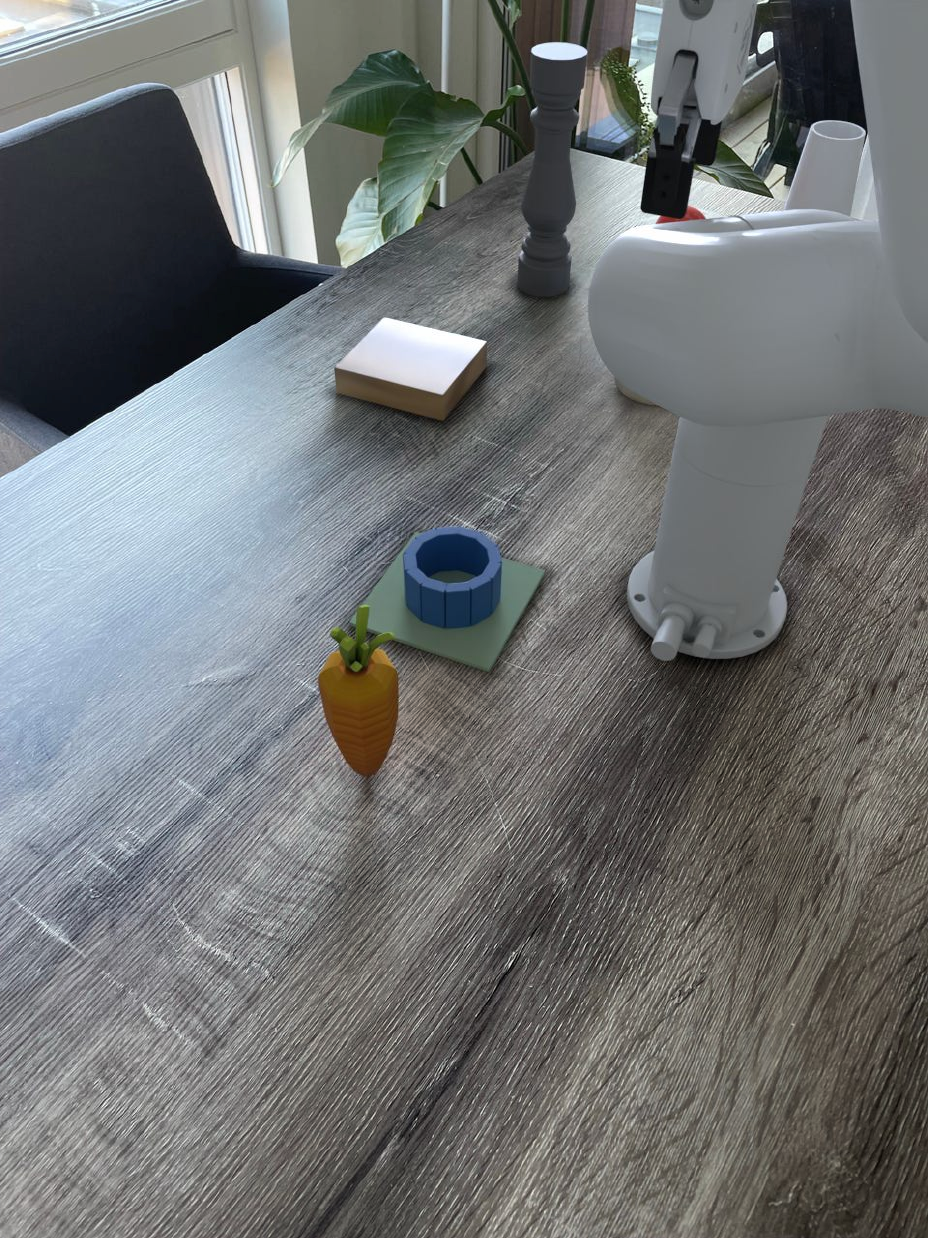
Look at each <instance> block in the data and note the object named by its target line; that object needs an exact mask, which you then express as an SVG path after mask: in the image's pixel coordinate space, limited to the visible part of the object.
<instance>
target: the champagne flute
mask: <svg viewBox="0 0 928 1238" xmlns="http://www.w3.org/2000/svg"><path fill="white" fill-rule="evenodd" d="M866 135H867V133H866V130H865V128H863V127H862V126H860V125H858V124H855V123H854V122H853V123H852V122H848V121H844V120H843V121H842V120H834V119H833V120H831V119H829V120H827V119H826V120H820V121H816V122H814V123H812V124H811V126H810V129H809V132H808V135H807V138H806V141H805V143H804V146H803V150H802V151H801V155H800V158H799V161H798V165H797V167H796V171H795V174H794V176H793V180H792V182H791V185H790V189H789V191H788V195H787V197H786V200H785V203H784V206H783V210H793V209H817V210H826V211H833V212H837V213H841V214H844V215H846V216H849V217H851V215H852V209H853V203H854V197H855V192H856V187H857V183H858V177H859V172H860V166H861V161H862V156H863V151H864V145H865V139H866Z"/></svg>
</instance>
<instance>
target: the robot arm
mask: <svg viewBox="0 0 928 1238" xmlns="http://www.w3.org/2000/svg"><path fill="white" fill-rule="evenodd" d="M758 2H759V0H663V5H662V10H661V11H662V12H661V19H660V24H659V30H658V31H659V32H658V37H657V45H656V53H655V58H654V59H655V60H654V67H653V75H652V84H651V92H650V94H651V95H650V109H651V111H652V112H653V113H654V115H655V116H656V121H655V124H654V128H653V132H652V136H651V140H650V143H649V149H648V152H647V156H646V162H645V170H644V177H643V185H642V190H641V191H642V192H641V199H640V200H641V201H640V207H639V208H640V211H641V212H642V213H643V214H649V215H654V216H659V217H660V216H665V217H670V218H676V219H682V218H683V217H684V216H685V214H686V212H687V207H688V206H689V200H690V196H691V191H692V190H691V189H692V183H693V178H694V174H695V173H694V172H695V167H696V165H699V166H705V167H711V166H712V165H713V164H714V163H715V161H716V156H717V152H718V147H719V141H720V135H721V132H722V131H721V130H722V126H723V120H724V119H725V118H726V116H727V115H728V114H729V111H730V110H731V108H732V107H733V104H734V103H735V101H736V99H737V97H738V96H739V94H740V92H741V89H742V88H743V86H744V83H745V79H746V74H747V69H748V63H749V56H750V49H751V45H752V44H751V43H752V37H753V32H754V26H755V19H756V14H757V8H758ZM850 8H851V16H852V17H851V18H852V24H853V25H852V26H853V32H854V41H855V49H856V55H857V63H858V70H859V77H860V78H859V79H860V85H861V93H862V99H863V106H864V115H865V119H866V120H865V121H866V128H867V130H866V131H867V137H868V144H869V152H870V154H869V155H870V161H871V162H870V163H871V168H872V177H873V178H872V179H873V185H874V193H875V194H874V195H875V201H876V209H877V210H876V211H877V219H875V220H874V219H871V220H869V219H868V220H867V219H864V220H856V219H855V218H853V217H851V216H850V217H849V216H846V215H844V214H841V213H837V212H833V211H826V210H817V209H793V210H774V211H764V212H763V211H762V212H754V213H745V214H743V213H742V214H734V215H733V214H732V215H728V216H721V217H711V218H706V219H700V220H690V221H680V222H670V223H662V224H656V223H654V224H645V225H640V226H636V227H632V228H630V229H628V230H626V231H624V232H622V233H621V234H619V235H618V236H617V237H615V238H614V239H613V240H612V241H611V242H610V243H609V244H608V246H607V247H606V248H605V250H604V251H603V252H602V254H601V256H600V257H599V259H598V261H597V264H596V266H595V268H594V271H593V274H592V276H591V280H590V285H589V289H588V299H587V315H588V316H587V317H588V324H589V330H590V334H591V337H592V341H593V344H594V345H595V349H596V351H597V353H598V355H599V357H600V359H601V361H602V362H603V364H604V365H605V367H606V369H607V370H608V371H609V372H610V373H611V375H612V376H613V378H614V377H615V378H616V379H617V380H618V381H619V382H620V383H622V384H623V385H624V386H625V387H627V388H628V389H629V390H631V391H633V392H634V393H636V394H638V395H640V396H642V397H644V398H645V399H647V400H649V401H651V402H653V403H655V404H657V405H656V406H659V407H660V408H662V409H664V410H667V411H669V412H670V413H672V414H674V415H676V416H678V417H679V419H678V424H677V430H676V435H675V438H674V444H673V450H672V456H671V460H670V466H669V469H668V470H669V471H668V477H667V480H666V486H665V491H664V492H665V493H664V497H663V502H662V507H661V513H660V518H659V522H658V529H657V534H656V539H655V545H654V549H653V550H652V551H650V552H648V553H647V554H646V555H644V557H642V558H641V559H640V560H639V561H638V562H637V563H636V564H635V566H634V567H633V569H632V570H631V573H630V575H629V578H628V583H627V587H626V590H627V591H626V600H627V604H628V605H627V606H628V609H629V611H630V613H631V615H632V617H633V618H634V621H635V622H636V623H637V624H638V625H639V626H640V628H641V629H642V630H643V631H644V632H645V633H646V634H648V635H649V636H650V637H651V638H652V639H653V641H652V643H651V645H650V652H651V654H652V655H653V656H654V657H655V658H656V659H658V660H661V661H663V662H664V661H665V662H670V661H672V660H674V659H675V658H676V656H677V654H678V652H679V653H681V654H685V655H688V656H692V657H697V658H701V659H702V658H703V659H711V660H720V659H721V660H729V659H735V658H741V657H742V658H743V657H745V656H749V655H751V654H754V653H757V652H759V651H760V650H763V649H764V648H766V647H768V645H770V644H771V643H772V642H773V641H774V640H776V638H777V637H778V636H779V634H780V632H781V631H782V629H783V626H784V624H785V621H786V618H787V612H788V600H787V595H786V592H785V590H784V588H783V585H782V584H781V583H780V581H779V580H778V575H779V572H780V569H781V566H782V563H783V560H784V557H785V554H786V550H787V547H788V543H789V539H790V537H791V535H792V531H793V527H794V525H795V521H796V519H797V515H798V512H799V509H800V505H801V503H802V499H803V496H804V493H805V490H806V486H807V483H808V480H809V477H810V474H811V471H812V467H813V465H814V463H815V459H816V456H817V453H818V450H819V446H820V443H821V440H822V437H823V434H824V431H825V429H826V426H827V423H828V420H829V418H830V416H835V415H836V416H837V415H843V414H852V413H858V412H864V411H871V410H890V411H897V412H903V413H906V414H910V415H912V416H913V415H914V416H917V417H921V418H924V419H928V0H850Z"/></svg>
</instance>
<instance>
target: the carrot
mask: <svg viewBox="0 0 928 1238" xmlns="http://www.w3.org/2000/svg"><path fill="white" fill-rule="evenodd" d="M361 605H362V604H361ZM361 605H358V607H357V610H356V612H357V617H356V628H355V637H354V638H352V637H351V636H349V635H348V634H347V633H346V631H344V630H343V629H342V628H341V627H339V626H336V627H333V628H332V629H331V630H330V633H329V637H330V638H332V639H333V640H334V641H335V642H337V643H338V650H337V651H334V652H331V653H330V654H329V656H328V658H326V661H325V663H324V665H323V666H322V669H320V670H321V671H320V672H319V673H318V678H317V683H318V684H317V685H318V690H319V697H320V700H321V701H320V702H321V705H322V709H323V713H324V714H323V715H324V717H325V721H326V725H327V726H328V729H329V731H330V734H331V736H332V737H333V741H334V742H335V744H336V747H337V749H338V750H339V751H340V753H341V756H342V757H343V759H344V761H345V762H346V764H347V765H348V766H349V767H350V768H351V770H353V771H354V772H355V773H357V774H358V775H360V776H362V777H365V778H369V777H372V776H374V775H376V774H377V773H378V771H380V769H381V768H382V766H383V764H384V762H385V761H386V758H387V756H388V754H389V752H390V750H391V747H392V745H393V742H394V737H395V734H396V729H397V725H398V721H399V711H400V709H399V707H400V686H399V685H400V683H399V682H400V680H399V673H398V671H397V670H396V668H395V666H394V664H393V663H392V661H391V660H390V658H389V657H388V655H387V653H386V652H385V651H384V649H380V648H379V647H380V646H381V645H383V644H384V643H388V642H391V641H394V640H393V639H395V638H396V637H395V636H394V634H393V633H392V632H387V633H383V634H381V635H376V636H375V637H374V638H373V639H372V640H371V641H370V642H369V643H366V637H367V625H368V618H369V608H370V607H369V606H368V605H362V606H361ZM354 639H355V640H354Z"/></svg>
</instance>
